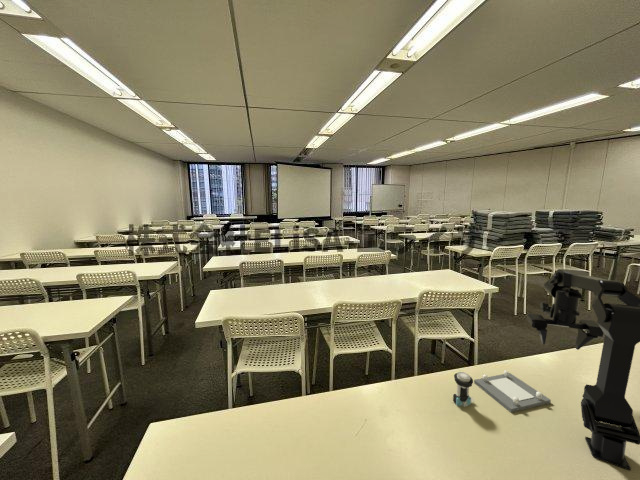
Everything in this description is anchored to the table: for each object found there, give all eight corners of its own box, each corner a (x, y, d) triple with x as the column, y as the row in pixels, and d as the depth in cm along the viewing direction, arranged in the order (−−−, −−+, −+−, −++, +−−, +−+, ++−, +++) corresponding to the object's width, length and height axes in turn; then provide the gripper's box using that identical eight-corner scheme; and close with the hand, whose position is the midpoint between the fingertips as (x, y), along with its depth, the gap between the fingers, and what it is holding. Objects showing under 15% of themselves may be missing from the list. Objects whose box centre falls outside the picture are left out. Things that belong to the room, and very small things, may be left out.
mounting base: (550, 403, 82) (551, 394, 82) (510, 412, 78) (511, 403, 78) (509, 375, 96) (510, 367, 95) (474, 382, 92) (474, 374, 92)
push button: (468, 396, 85) (469, 369, 84) (479, 408, 80) (481, 379, 79) (449, 398, 85) (450, 370, 84) (459, 410, 80) (461, 381, 78)
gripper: (588, 298, 89) (581, 338, 92) (523, 292, 96) (519, 329, 99) (609, 313, 79) (600, 357, 82) (535, 305, 86) (529, 346, 89)
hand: (559, 346), depth 88 cm, fingers open, 9 cm apart
